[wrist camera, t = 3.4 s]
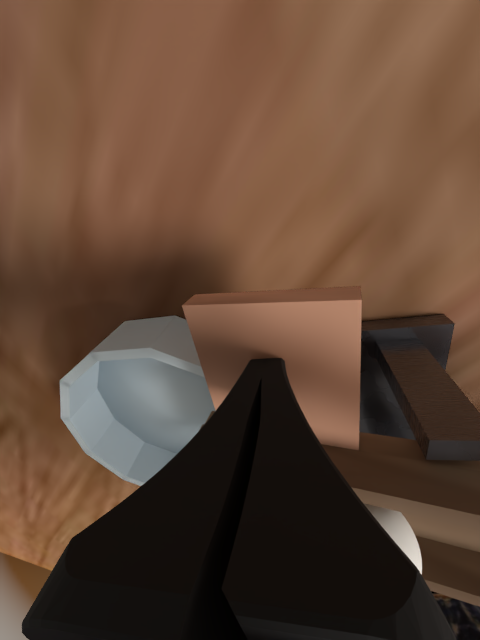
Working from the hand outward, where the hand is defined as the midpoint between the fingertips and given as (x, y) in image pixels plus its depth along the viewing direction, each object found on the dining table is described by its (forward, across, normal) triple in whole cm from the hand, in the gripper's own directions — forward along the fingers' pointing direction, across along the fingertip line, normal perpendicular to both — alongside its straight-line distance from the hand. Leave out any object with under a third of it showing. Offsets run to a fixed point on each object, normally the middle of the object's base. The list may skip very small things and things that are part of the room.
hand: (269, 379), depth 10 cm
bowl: (+6, +8, +6) cm, 12 cm away
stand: (+6, -6, +6) cm, 10 cm away
